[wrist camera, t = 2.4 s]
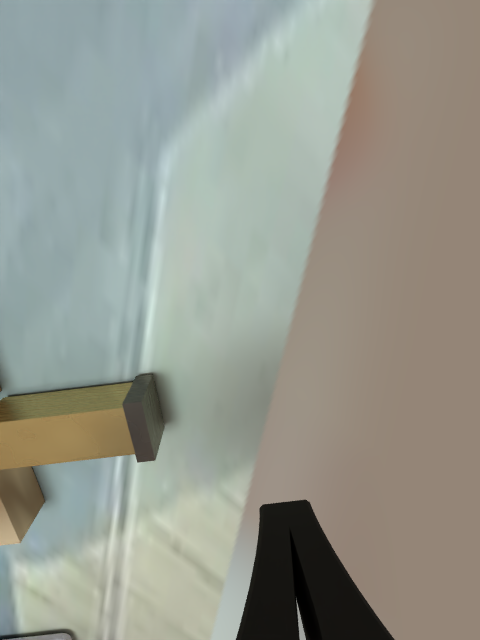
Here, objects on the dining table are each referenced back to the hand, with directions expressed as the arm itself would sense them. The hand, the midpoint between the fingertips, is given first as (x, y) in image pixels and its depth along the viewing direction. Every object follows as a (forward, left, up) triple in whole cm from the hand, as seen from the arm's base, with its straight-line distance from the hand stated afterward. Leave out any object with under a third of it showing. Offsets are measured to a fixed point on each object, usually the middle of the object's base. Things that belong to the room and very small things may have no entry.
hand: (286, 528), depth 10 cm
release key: (0, +9, -8) cm, 12 cm away
